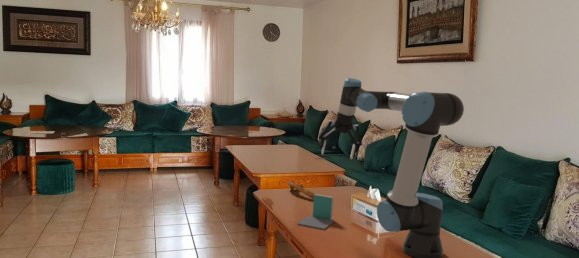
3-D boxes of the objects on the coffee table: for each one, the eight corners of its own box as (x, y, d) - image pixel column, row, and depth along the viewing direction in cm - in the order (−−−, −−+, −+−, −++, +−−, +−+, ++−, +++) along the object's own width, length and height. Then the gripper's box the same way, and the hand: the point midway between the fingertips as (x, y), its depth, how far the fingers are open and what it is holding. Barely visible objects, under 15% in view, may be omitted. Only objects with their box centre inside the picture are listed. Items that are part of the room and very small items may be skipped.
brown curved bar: (329, 204, 248) (322, 188, 245) (316, 212, 246) (309, 197, 242) (301, 186, 278) (294, 172, 274) (289, 194, 275) (283, 179, 272)
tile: (332, 219, 221) (333, 196, 220) (330, 220, 219) (332, 197, 217) (314, 216, 225) (315, 193, 223) (312, 217, 222) (313, 194, 221)
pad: (334, 221, 217) (334, 220, 217) (324, 229, 206) (324, 228, 206) (308, 216, 223) (308, 215, 223) (297, 224, 211) (297, 223, 211)
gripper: (372, 114, 214) (362, 156, 221) (318, 105, 213) (310, 148, 220) (374, 120, 207) (364, 163, 214) (319, 110, 206) (310, 154, 213)
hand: (336, 155), depth 217 cm, fingers open, 13 cm apart
